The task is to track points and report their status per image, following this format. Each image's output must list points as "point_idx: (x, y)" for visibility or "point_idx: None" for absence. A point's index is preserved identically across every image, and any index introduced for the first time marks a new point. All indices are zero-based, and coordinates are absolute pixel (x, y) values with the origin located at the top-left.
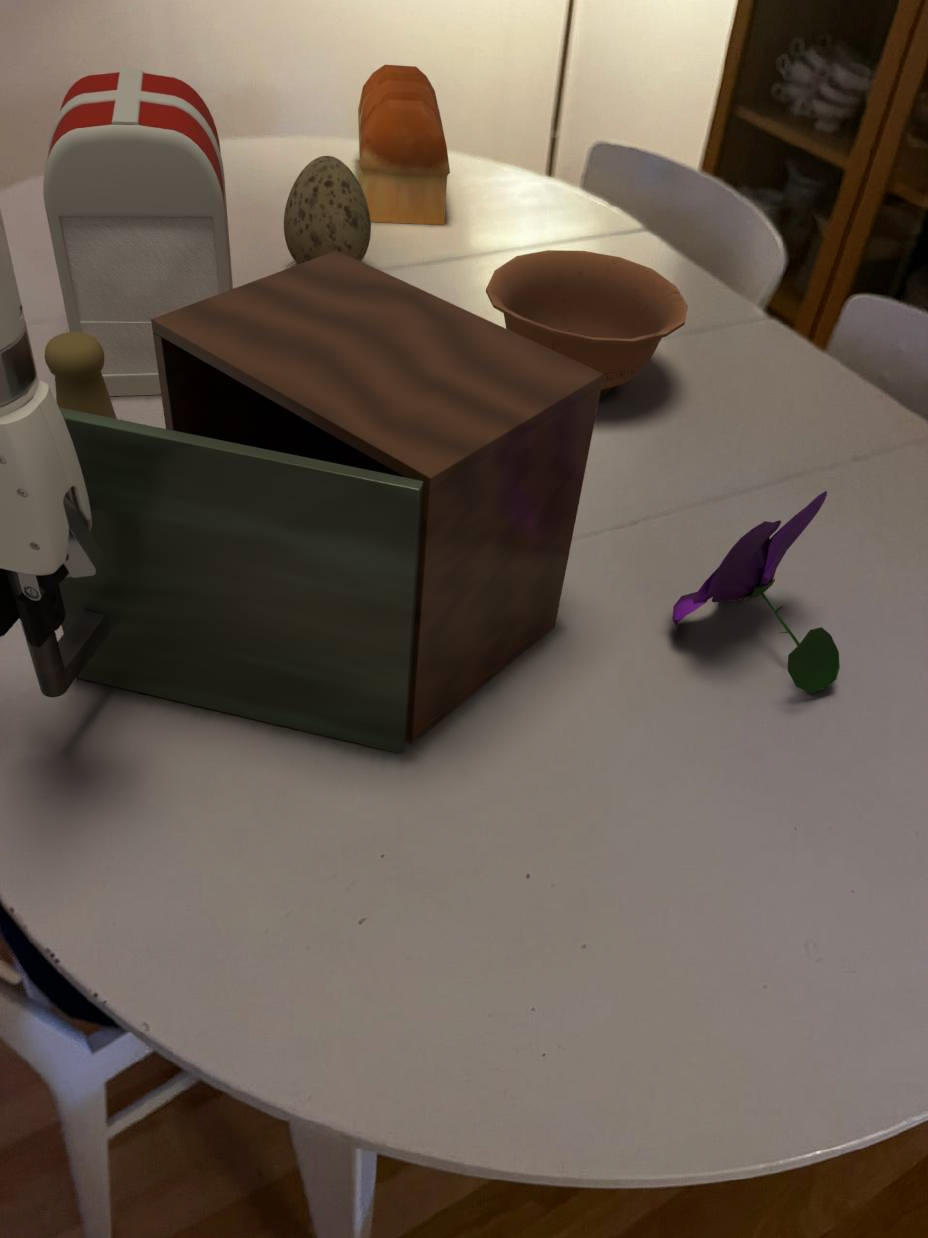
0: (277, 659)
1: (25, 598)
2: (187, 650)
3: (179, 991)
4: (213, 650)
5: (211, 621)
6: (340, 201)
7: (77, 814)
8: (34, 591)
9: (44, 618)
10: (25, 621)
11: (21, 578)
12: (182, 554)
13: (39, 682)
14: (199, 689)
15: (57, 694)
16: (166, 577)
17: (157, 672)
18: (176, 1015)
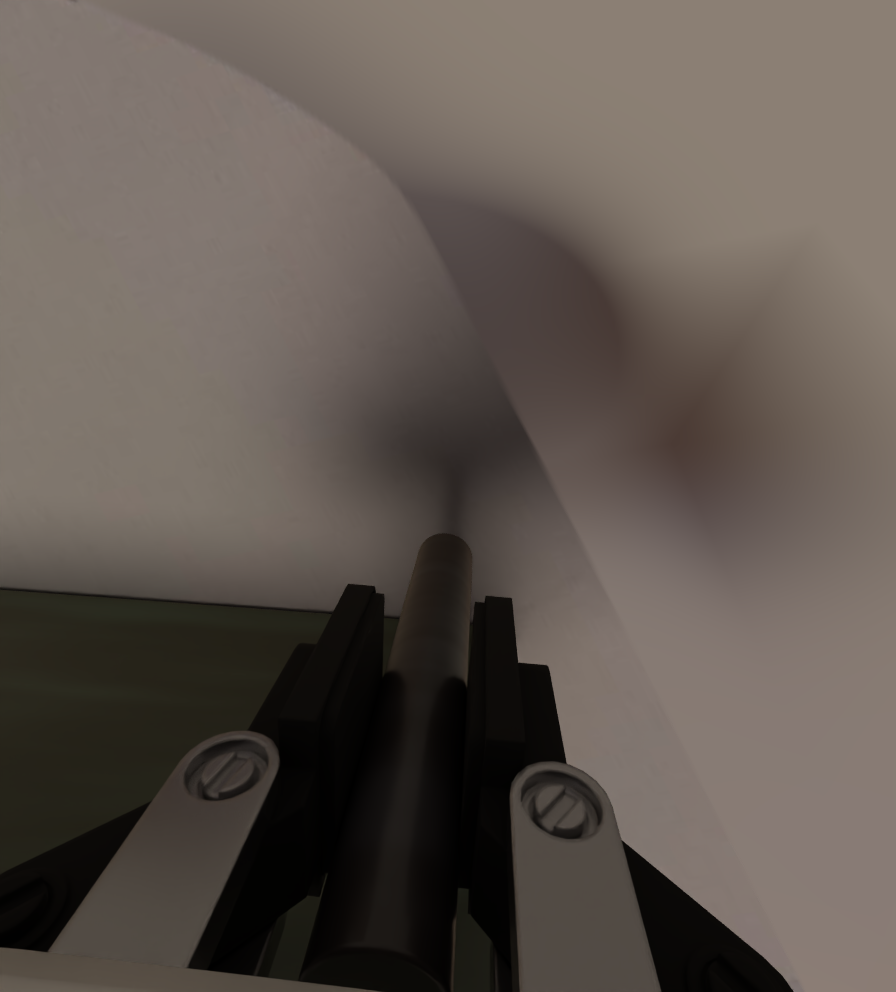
0: (54, 699)
1: (288, 735)
2: (253, 692)
3: (56, 78)
4: (192, 699)
5: (142, 761)
6: None
7: (380, 373)
8: (204, 777)
9: (299, 672)
10: (340, 644)
11: (223, 848)
12: None
13: (458, 552)
14: (279, 633)
15: (426, 540)
16: None
17: None
18: (37, 30)
